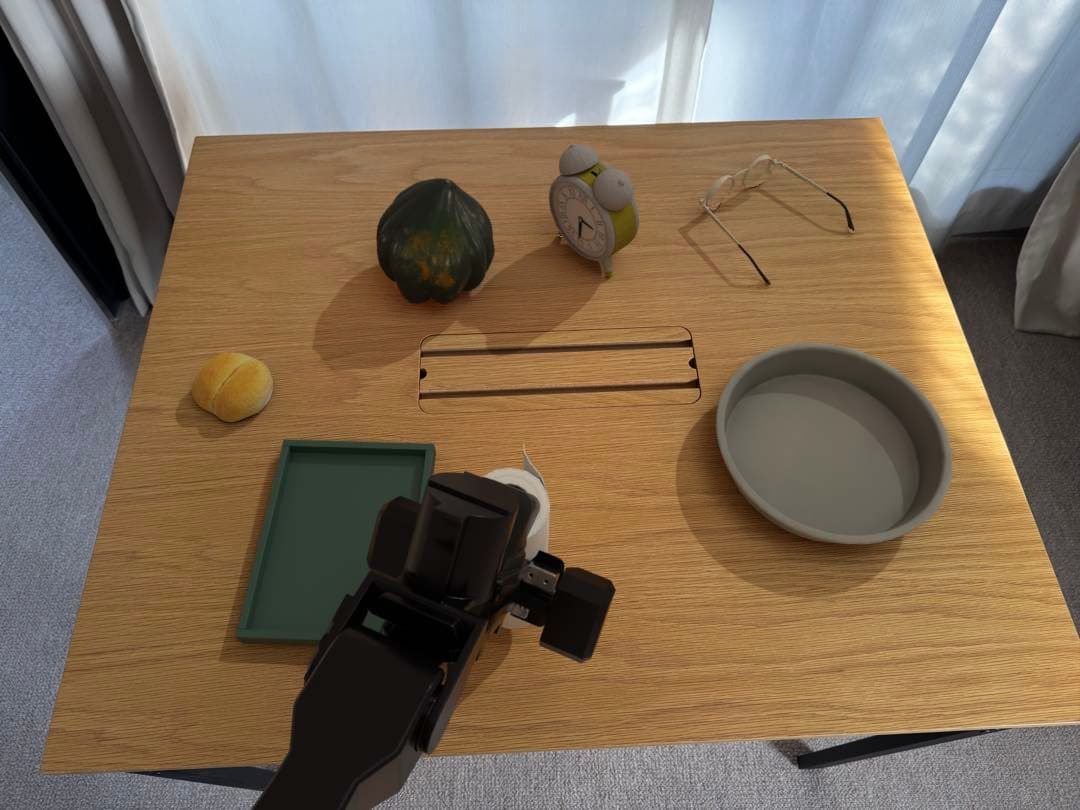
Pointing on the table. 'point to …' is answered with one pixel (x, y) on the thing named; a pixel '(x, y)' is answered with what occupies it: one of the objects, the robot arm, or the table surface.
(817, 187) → the wire-rimmed eyeglasses
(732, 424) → the cake pan
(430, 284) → the squash
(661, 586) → the table surface
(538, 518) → the paper towel roll
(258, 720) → the table surface
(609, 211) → the alarm clock
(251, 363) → the bread roll
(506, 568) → the robot arm
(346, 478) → the tray
